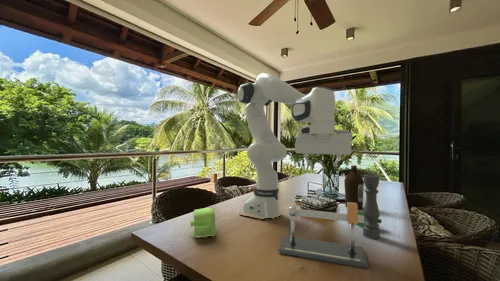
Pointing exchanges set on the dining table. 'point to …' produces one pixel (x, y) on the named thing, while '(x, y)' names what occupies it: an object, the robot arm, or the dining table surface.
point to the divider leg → (352, 222)
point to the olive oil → (354, 188)
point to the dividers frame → (315, 214)
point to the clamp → (365, 219)
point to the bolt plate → (324, 251)
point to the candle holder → (371, 207)
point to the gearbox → (204, 222)
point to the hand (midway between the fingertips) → (321, 166)
